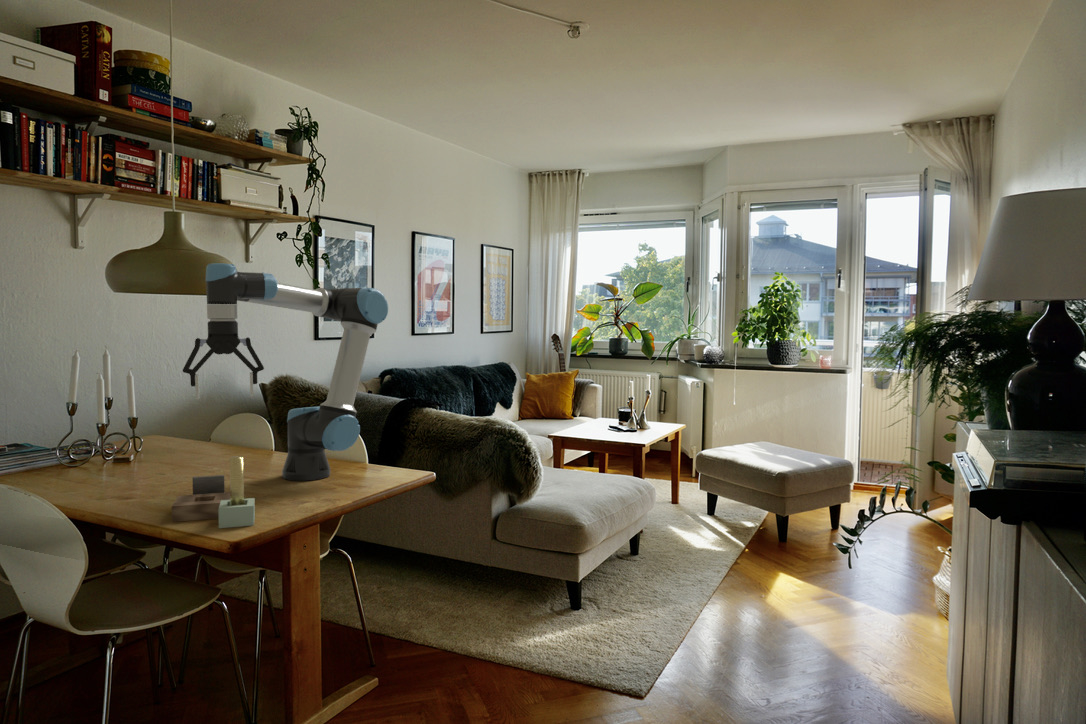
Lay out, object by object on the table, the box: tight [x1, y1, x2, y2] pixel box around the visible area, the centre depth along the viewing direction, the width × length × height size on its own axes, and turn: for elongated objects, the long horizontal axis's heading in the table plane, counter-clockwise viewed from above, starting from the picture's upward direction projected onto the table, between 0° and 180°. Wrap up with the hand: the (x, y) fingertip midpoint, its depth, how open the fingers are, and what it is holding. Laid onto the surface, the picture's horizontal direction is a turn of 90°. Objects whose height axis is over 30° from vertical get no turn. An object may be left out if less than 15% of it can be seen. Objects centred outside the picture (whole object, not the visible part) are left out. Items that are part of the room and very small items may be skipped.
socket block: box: [171, 491, 230, 523], centre depth 182 cm, size 14×11×4 cm
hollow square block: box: [218, 497, 256, 529], centre depth 174 cm, size 8×8×5 cm
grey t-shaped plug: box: [192, 474, 226, 495], centre depth 188 cm, size 8×10×7 cm
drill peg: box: [229, 455, 245, 506], centre depth 174 cm, size 3×3×16 cm
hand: (225, 397), depth 189 cm, fingers open, 13 cm apart
